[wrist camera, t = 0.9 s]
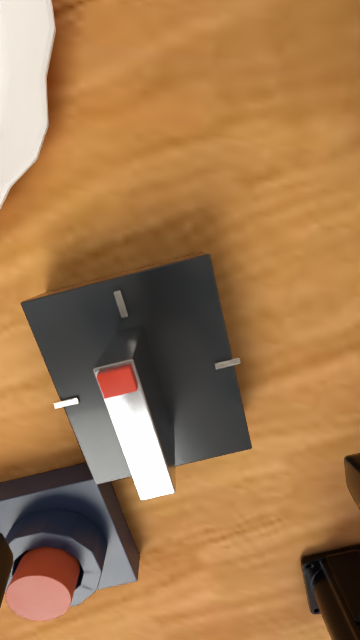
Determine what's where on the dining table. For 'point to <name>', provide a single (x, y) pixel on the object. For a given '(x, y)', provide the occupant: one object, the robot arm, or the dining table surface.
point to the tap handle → (138, 411)
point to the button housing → (70, 526)
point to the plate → (23, 85)
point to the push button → (43, 584)
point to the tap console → (167, 349)
